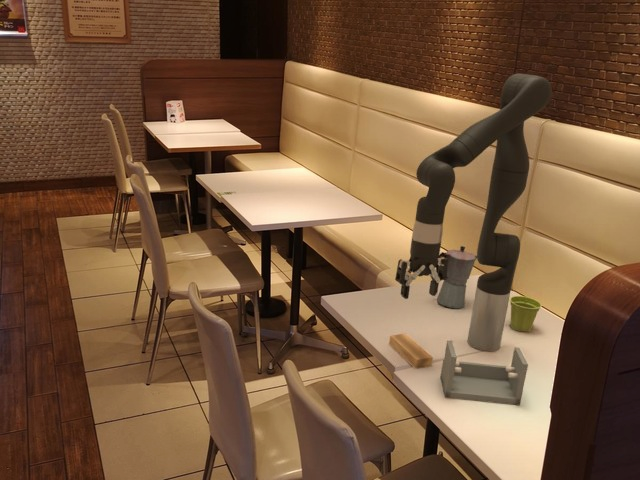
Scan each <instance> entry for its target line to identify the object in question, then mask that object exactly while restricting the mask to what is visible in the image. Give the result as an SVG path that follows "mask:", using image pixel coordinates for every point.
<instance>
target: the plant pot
mask: <svg viewBox="0 0 640 480" xmlns="http://www.w3.org/2000/svg"><path fill="white" fill-rule="evenodd" d="M509 302H510V327H511V328H512V329H514V330H516V331H518V332H530V331H531V330H532V327H533V324H534V322H535V319H536V316H537V314H538V312H539V311H540V309H542V306H543V305H542V303H541V302H540V301H539V300H537V299H535V298H532V297H529V296H525V295H513V296H510V297H509Z"/></svg>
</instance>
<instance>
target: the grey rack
mask: <svg viewBox="0 0 640 480" xmlns="http://www.w3.org/2000/svg"><path fill="white" fill-rule="evenodd" d="M457 359H458V357H457V353H456V350H455V348H454V343H453V340H446V345H445V350H444V356H443V359H442V364H441V372H440V375H439V376H440V377H439V378H440V381H441V386H442V391H443V395H444V398H449V399H460V400H469V401H479V402H485V403H486V402H489V403H496V404H498V403H499V404H506V405H515V406H516V405H517V406H520V404H521V402H522V401H521V400H522V395H523V392H524V391H523V390H524V387H525V382H526V377H527V373H528V367H529V363H528V362H527V360H526V358H525V356H524V354H523V352H522V350H521V348H520V347H514V350H513V355H512V360H511V364H510V366H508V365H498V364H488V363H478V362H470V361H469V362H468V361H460V360H457Z"/></svg>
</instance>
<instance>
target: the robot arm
mask: <svg viewBox="0 0 640 480" xmlns="http://www.w3.org/2000/svg"><path fill="white" fill-rule="evenodd" d="M552 89H553V88H552V85H551V83H550V82H549V80H548V79H547V78H545V77H543V76H539V75H533V74H528V73H515V74H511V75H510V76H509V77H508V78H507V80H506V81H505V82H504V84H503V87H502V90H501V94H500V95H501V96H500V109H499V110H497V111H496V112H495V113H492V114H491V115H489V116H487V117H485V118H483V119H480V120H479V121H477V122H475V123H473V124H471V125H470V126H469V127H467V128H466V129H465V130H463V131H462V132H461V133H460V134H459V135H458V136H456V137H455V138H454V140H452V141H451V142H450V143H449V144H448V145H446V146H444V147H442V148H440V149H438V150H436V151H435V152H433V153H431V154H430V155H428V156H427V157H425V158H424V159H423V160H422V161H421V162H420V163H419V165H418V166H417V169H416V173H415V175H416V179H417V181H418V183H420V185H423V186H425V187H428V189H427V190H428V191H427V193H426V195H425V196H422V197H420V198H419V199H418V201H417V204H416V213H415V214H416V215H415V220H414V224H413V228H412V235H411V241H410V249H409V253H410V258H409V259H408V260H404V259H402V258H401V259H399V260H398V261H397V262H398V263H397V268H396V271H395V272H396V273H395V279H394V280H395V281H396V282H397V283H398V284H400V285H401V287H400V295H401V297H402V298H403V299H405V300H408V299H409V295H410V288H411V285H410V284H411V283H412V282H413V281H414V280H416V279H417V278H418V277H424V276H426V277H427V276H428V277H430V278H431V280H430V283H429V290H428V294H429V295H430V296H432V297H436V296H437V293H438V291H439V284H440V282H441V281H444V280H446V277H447V267H448V259H446V258H444V257H442V256H440V257H439V255H440V254H441V246H442V240H443V235H444V234H443V233H444V219H445V212H446V206H447V204H448V202H449V200H450V197H451V195H452V193H453V190H454V188H455V183H456V172H455V170H454V169H455V168H464V167H467V166H468V165H470V164H471V163H472V162H473V161H474V160H476V159H477V158H478V157H479V156H480V155H481V154H482V153H483V152H484V151H485V150H487V149H488V148H489V147H490V146H491V145H493V143H495V142H496V146H495V153H494V154H495V155H494V159H493V164H492V169H491V176H490V180H489V181H490V182H489V189H488V195H487V203H486V208H485V213H484V218H483V222H482V227H481V231H480V236H479V239H478V244H477V249H476V255H477V259H476V260H477V262H478V264H479V265H483V266H489V267H495V268H498V269H496V270H494V271H491V272H486V273H483V274H481V275H479V276H478V278H477V283H476V287H475V288H476V289H475V294H474V299H473V307H472V311H471V318H470V324H469V329H468V333H467V334H468V335H467V340H466V341H467V343H468V344H469V346H470V347H472V348H474V349H477V350H480V351H484V352H494V351H498V350H499V349H500V348H501V342H502V338H503V333H504V328H505V322H506V317H507V312H508V307H509V302H510V298H511V296H510V295H511V291H512V286H513V282H514V277H515V273H516V269H517V266H518V265H517V264H518V261H519V257H520V252H521V240H520V238H519V236H517V235H515V234H509V233H503V232H502V233H500V232H495V231H496V228H497V226H498V223H499V222H500V220H501V218H502V217H503V216H504V215H505V213H506V212H507V211H508V210H509V208H511V207H512V206H513V205H514V204H515V203H516V201H517V200H519V198H520V197H521V196H522V195H523V193H524V192H525V190H526V188H527V183H528V178H529V177H528V176H529V170H530V156H529V152H528V149H527V142H526V140H525V133H524V127H525V126H524V125H525V121H527V120H529V119H530V118H532V117H533V116H535V115H537V114H538V113H539V112H541V111H542V110H544V109H545V107H547V105H548V104H549V103H550V100H551V98H552V95H553V94H552V93H553V90H552ZM438 257H439V258H438ZM437 265H438V274H437V272H436V266H437Z"/></svg>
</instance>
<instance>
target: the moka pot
mask: <svg viewBox="0 0 640 480" xmlns="http://www.w3.org/2000/svg"><path fill="white" fill-rule="evenodd" d="M465 248H466V247H465V246H462V245H461V246H460V248H459V249H448V250H447V251H446V252H443V251H442V252H440V254H439V257H440V256H442V257H444V258H446V259H448V267H447V277H446V280H443V282H442V285H441V287H440V290H439V293H438V294H437V295H438V296H437V298H436V300H437V303H438V304H439V305H441V306H444V307H447V308H451V309H462V308H464V306H465V304H466V303H465V302H466V299H465V298H466V293H467V291H466V290H467V283H468V280H469V278H470V277H471V276H470V275H471V274H472V270H473V268H474V265H475V262H476V260H477V254H475V253H472V252H469V251H466V250H465ZM439 257H438V258H439ZM435 270H436V272H437V274H438V265H437V266H436V267H435Z"/></svg>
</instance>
